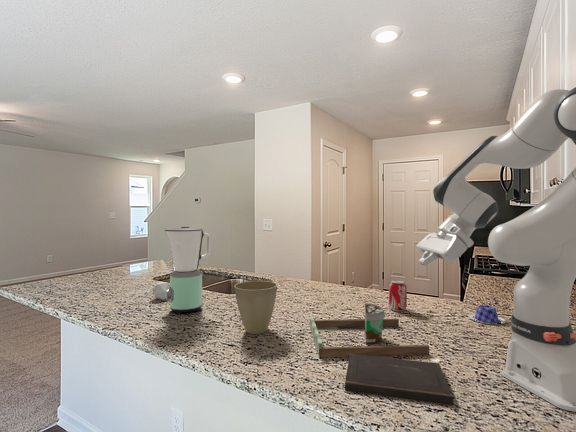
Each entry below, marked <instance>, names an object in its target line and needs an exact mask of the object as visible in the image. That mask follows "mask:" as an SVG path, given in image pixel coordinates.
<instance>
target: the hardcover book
mask: <svg viewBox="0 0 576 432" xmlns="http://www.w3.org/2000/svg"><path fill="white" fill-rule="evenodd" d="M344 391H346V392H353V393H360V394H366V395H367V394H369V395H374V396H379V397H380V396H382V397H387V398H388V397H389V398H395V399H402V400H403V399H404V400H411V401H416V402H418V401H419V402H424V403H431V404H432V403H433V404H437V405H438V404H439V405H444V406H445V405H448V406H454V397H453V394H452V391H451V388H450V386H449V383H448V381H447V379H446V377H445V374H444V372H443V368H442V367H441V365H440V363H439V362H428V361H421V360H420V361H419V360H412V359H411V360H410V359H401V358H392V357H391V358H390V357H385V356H366V355H357V354H350V356H349V357H348V363H347V369H346V374H345V380H344Z"/></svg>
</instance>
